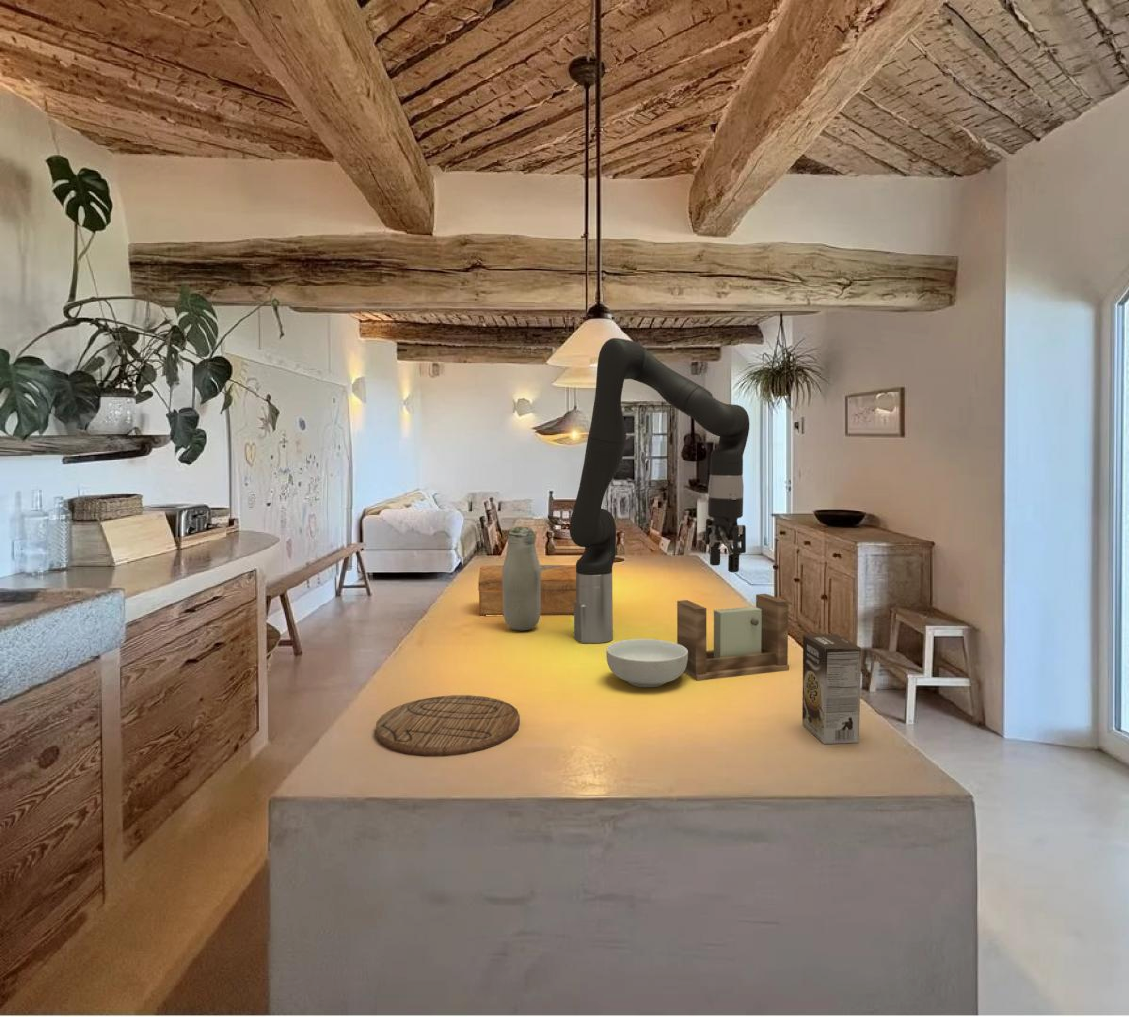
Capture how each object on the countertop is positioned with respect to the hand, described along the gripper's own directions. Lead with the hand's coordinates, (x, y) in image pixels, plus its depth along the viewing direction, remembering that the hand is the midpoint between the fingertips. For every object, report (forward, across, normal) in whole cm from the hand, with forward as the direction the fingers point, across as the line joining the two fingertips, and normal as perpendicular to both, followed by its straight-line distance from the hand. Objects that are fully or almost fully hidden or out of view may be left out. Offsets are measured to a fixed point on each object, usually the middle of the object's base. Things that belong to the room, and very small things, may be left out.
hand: (724, 568), depth 165 cm
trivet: (+23, +19, -64) cm, 70 cm away
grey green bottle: (+23, -45, -36) cm, 62 cm away
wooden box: (+24, -67, -28) cm, 77 cm away
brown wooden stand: (+22, +4, 0) cm, 22 cm away
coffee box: (+21, +42, -2) cm, 47 cm away
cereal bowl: (+22, +7, -21) cm, 31 cm away
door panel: (+20, +4, +2) cm, 21 cm away
